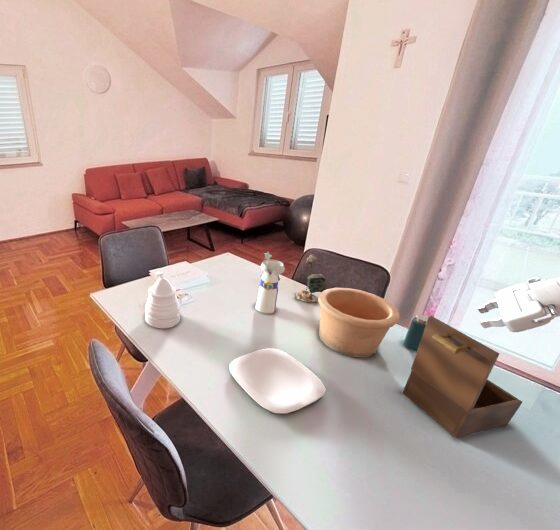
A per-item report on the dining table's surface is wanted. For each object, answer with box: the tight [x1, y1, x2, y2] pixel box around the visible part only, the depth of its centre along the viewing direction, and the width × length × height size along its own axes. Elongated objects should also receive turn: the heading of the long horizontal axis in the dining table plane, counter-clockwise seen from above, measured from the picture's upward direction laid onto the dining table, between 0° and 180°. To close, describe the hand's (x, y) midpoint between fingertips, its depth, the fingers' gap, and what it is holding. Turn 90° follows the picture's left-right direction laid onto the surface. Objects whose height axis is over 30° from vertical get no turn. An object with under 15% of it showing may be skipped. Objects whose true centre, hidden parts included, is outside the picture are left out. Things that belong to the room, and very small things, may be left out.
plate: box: [228, 347, 327, 415], centre depth 87 cm, size 22×22×2 cm
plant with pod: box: [294, 254, 326, 303], centre depth 125 cm, size 8×11×20 cm
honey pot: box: [144, 270, 181, 329], centre depth 112 cm, size 13×13×18 cm
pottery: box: [317, 287, 400, 358], centre depth 101 cm, size 22×22×14 cm
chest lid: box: [410, 315, 500, 413], centre depth 71 cm, size 16×14×4 cm
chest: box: [401, 370, 523, 439], centre depth 78 cm, size 16×14×8 cm
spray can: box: [402, 314, 429, 352], centre depth 99 cm, size 5×5×11 cm
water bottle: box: [254, 251, 286, 315], centre depth 117 cm, size 8×9×25 cm
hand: (480, 317), depth 88 cm, fingers open, 8 cm apart
